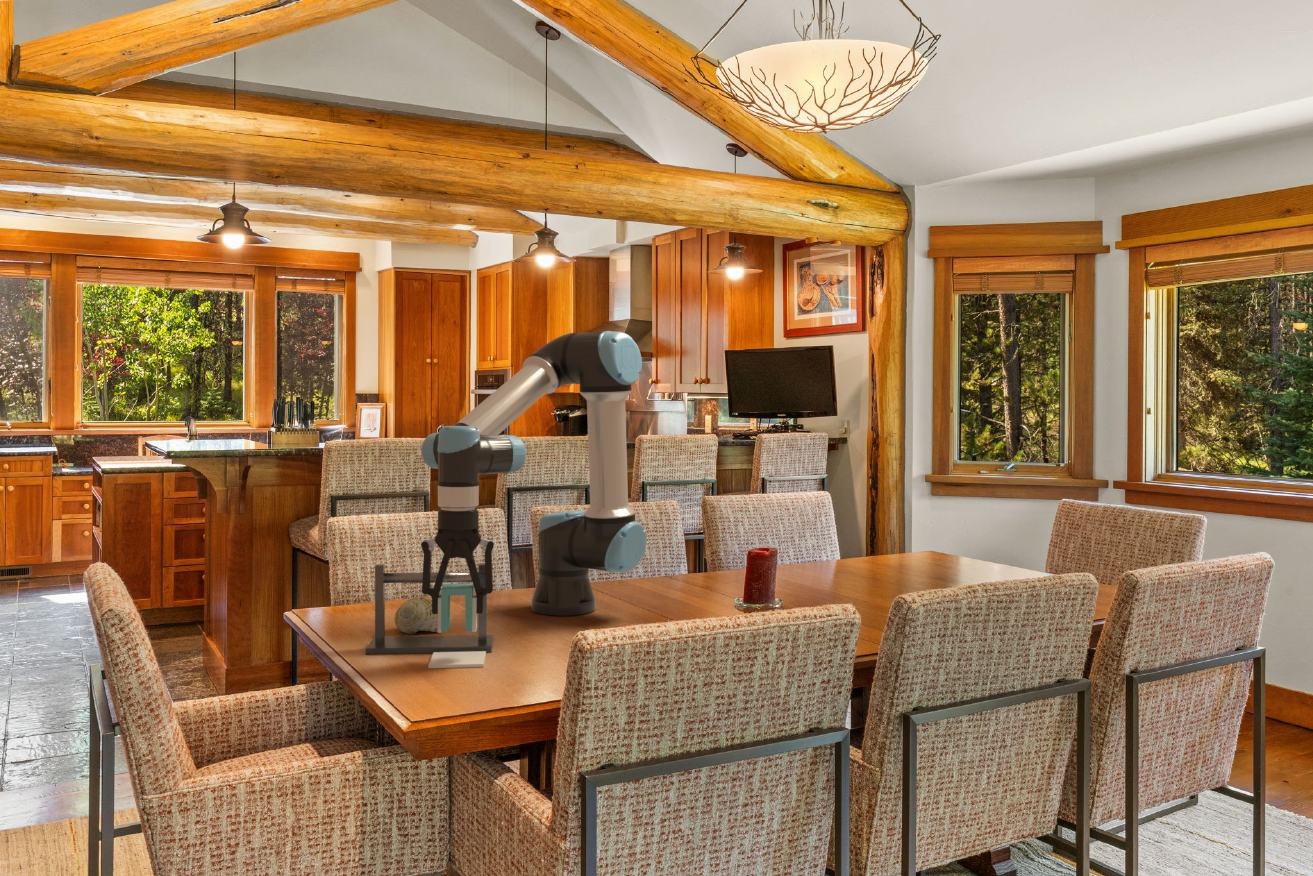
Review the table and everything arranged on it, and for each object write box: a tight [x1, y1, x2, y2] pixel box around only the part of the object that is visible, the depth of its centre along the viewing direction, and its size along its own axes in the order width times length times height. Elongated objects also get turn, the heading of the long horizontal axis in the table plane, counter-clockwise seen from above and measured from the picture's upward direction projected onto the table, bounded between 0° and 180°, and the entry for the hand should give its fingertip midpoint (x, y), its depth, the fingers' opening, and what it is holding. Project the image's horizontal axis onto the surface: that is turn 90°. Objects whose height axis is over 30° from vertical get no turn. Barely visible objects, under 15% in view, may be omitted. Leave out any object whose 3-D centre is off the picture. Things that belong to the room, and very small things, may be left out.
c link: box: [440, 583, 475, 633], centre depth 183 cm, size 5×6×8 cm
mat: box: [427, 651, 487, 669], centre depth 184 cm, size 10×9×1 cm
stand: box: [364, 562, 495, 656], centre depth 193 cm, size 24×9×17 cm, turn 97°
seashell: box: [393, 596, 438, 635], centre depth 207 cm, size 10×10×10 cm
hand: (457, 630), depth 183 cm, fingers closed on c link, 6 cm apart
